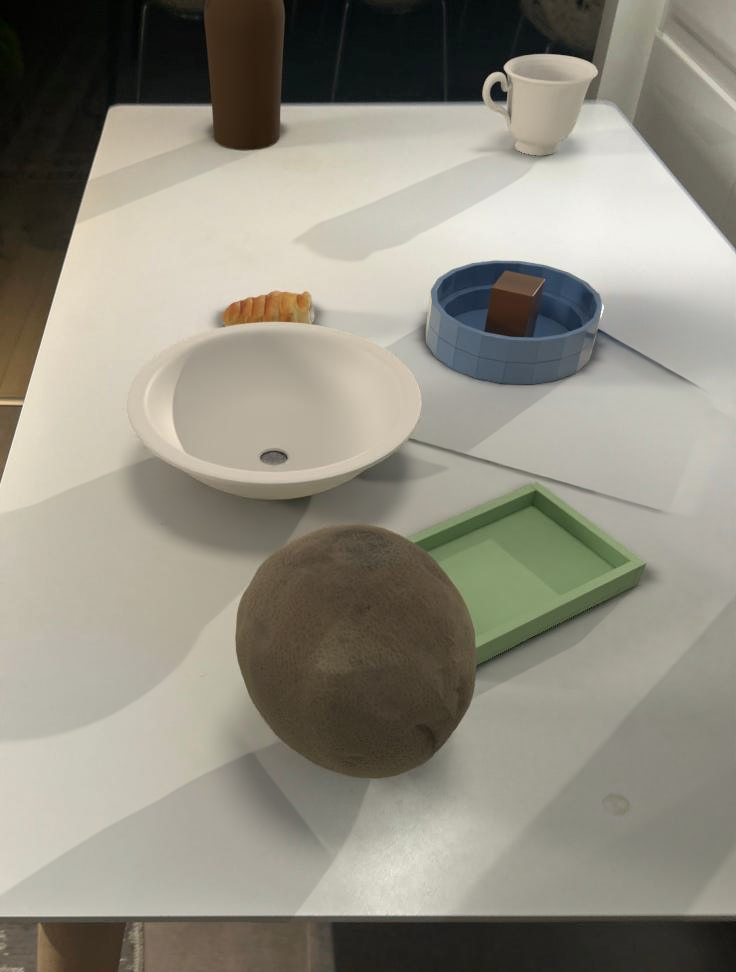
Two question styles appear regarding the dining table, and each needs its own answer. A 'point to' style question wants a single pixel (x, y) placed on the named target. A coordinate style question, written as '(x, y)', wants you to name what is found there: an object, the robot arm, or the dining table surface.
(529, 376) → the blue bowl
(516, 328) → the block
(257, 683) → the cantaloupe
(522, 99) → the teacup
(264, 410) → the vessel sink basin
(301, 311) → the pastry
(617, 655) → the dining table surface
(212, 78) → the olive oil
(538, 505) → the tray
